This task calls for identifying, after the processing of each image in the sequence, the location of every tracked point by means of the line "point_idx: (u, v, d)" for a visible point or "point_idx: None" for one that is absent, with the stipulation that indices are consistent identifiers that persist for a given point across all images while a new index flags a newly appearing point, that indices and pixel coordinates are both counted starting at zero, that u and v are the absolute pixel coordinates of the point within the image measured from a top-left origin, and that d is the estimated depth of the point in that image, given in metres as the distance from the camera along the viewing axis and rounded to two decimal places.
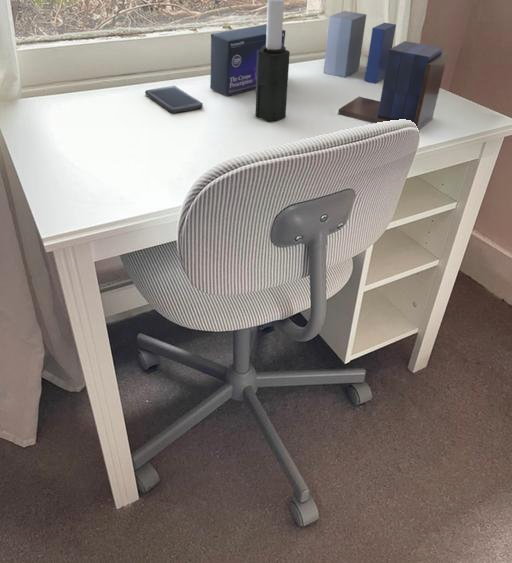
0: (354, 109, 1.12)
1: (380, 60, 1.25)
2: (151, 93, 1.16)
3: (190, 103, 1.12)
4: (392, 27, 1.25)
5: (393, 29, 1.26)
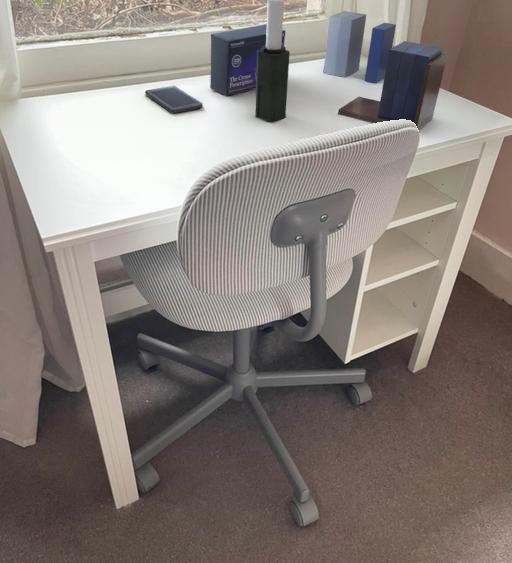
0: (354, 109, 1.12)
1: (380, 60, 1.25)
2: (151, 93, 1.16)
3: (190, 103, 1.12)
4: (392, 27, 1.25)
5: (393, 29, 1.26)
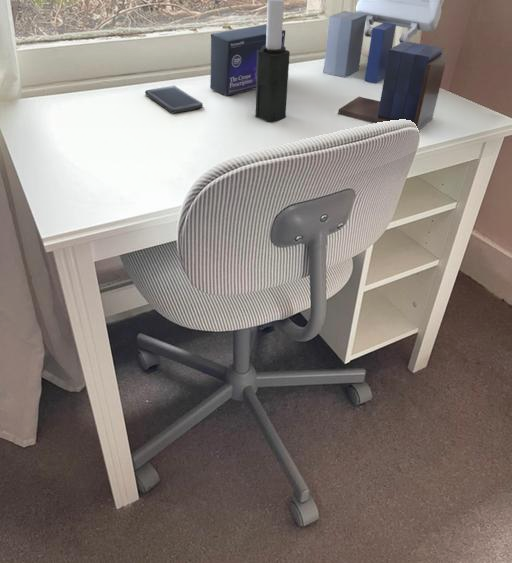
0: (354, 109, 1.12)
1: (380, 60, 1.25)
2: (151, 93, 1.16)
3: (190, 103, 1.12)
4: (392, 27, 1.25)
5: (393, 29, 1.26)
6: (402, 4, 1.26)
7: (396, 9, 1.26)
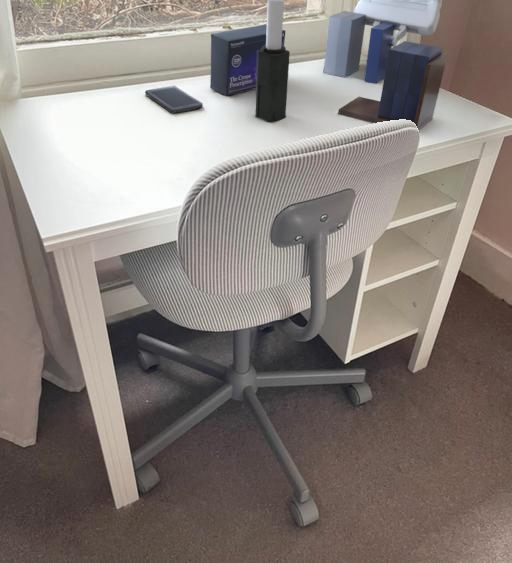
0: (354, 109, 1.12)
1: (379, 60, 1.25)
2: (151, 93, 1.16)
3: (190, 103, 1.12)
4: (391, 27, 1.25)
5: (392, 29, 1.25)
6: (400, 8, 1.26)
7: (394, 13, 1.26)
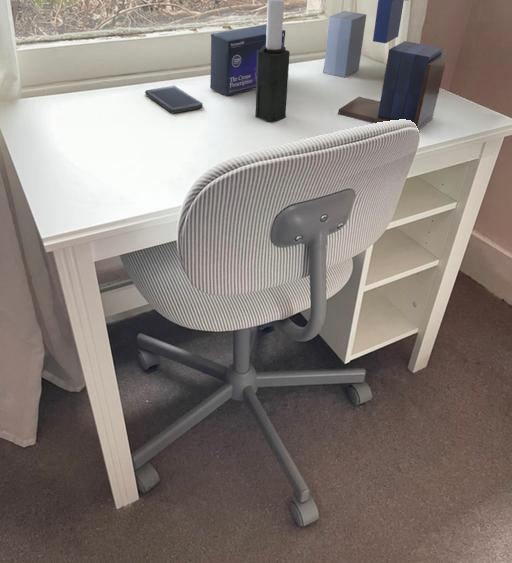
0: (354, 109, 1.12)
1: (390, 15, 1.10)
2: (151, 93, 1.16)
3: (190, 103, 1.12)
4: None
5: None
6: None
7: None
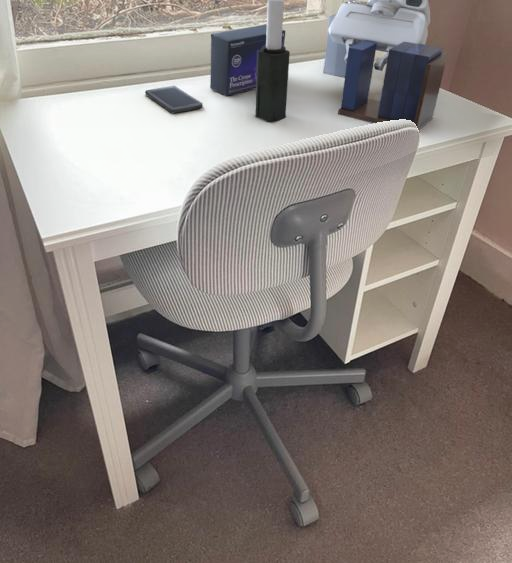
0: None
1: (358, 84, 1.08)
2: (151, 93, 1.16)
3: (190, 103, 1.12)
4: (372, 46, 1.07)
5: (373, 48, 1.08)
6: (382, 26, 1.08)
7: (375, 31, 1.08)
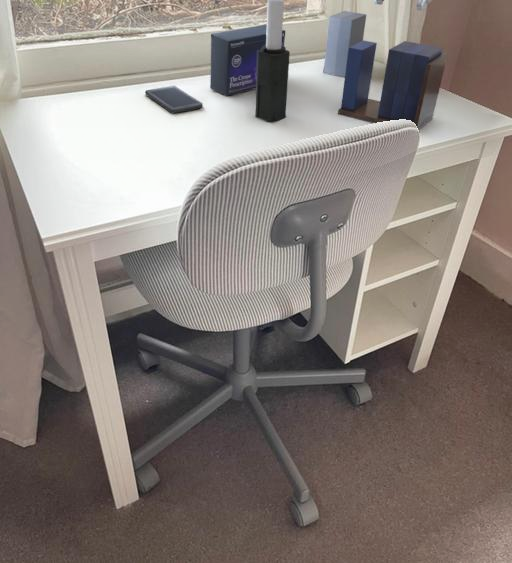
0: None
1: (358, 84, 1.08)
2: (151, 93, 1.16)
3: (190, 103, 1.12)
4: (372, 46, 1.07)
5: (373, 48, 1.08)
6: None
7: None
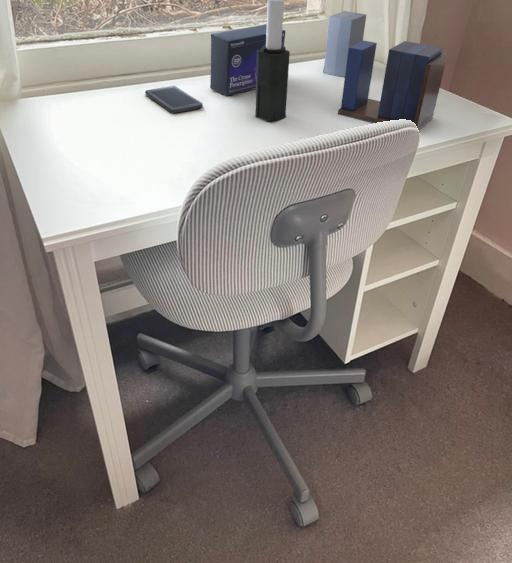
0: None
1: (358, 84, 1.08)
2: (151, 93, 1.16)
3: (190, 103, 1.12)
4: (372, 46, 1.07)
5: (373, 48, 1.08)
6: None
7: None
